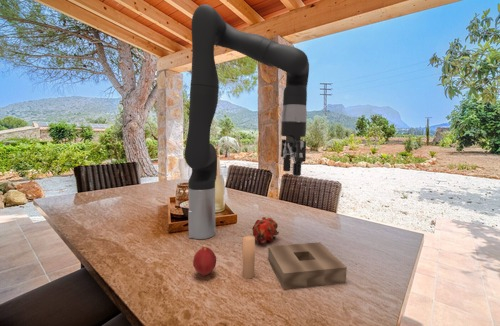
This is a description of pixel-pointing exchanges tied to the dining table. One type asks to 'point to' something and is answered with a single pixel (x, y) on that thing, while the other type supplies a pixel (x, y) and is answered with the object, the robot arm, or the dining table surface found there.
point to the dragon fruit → (265, 230)
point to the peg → (248, 256)
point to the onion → (204, 261)
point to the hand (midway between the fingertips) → (291, 173)
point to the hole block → (305, 265)
